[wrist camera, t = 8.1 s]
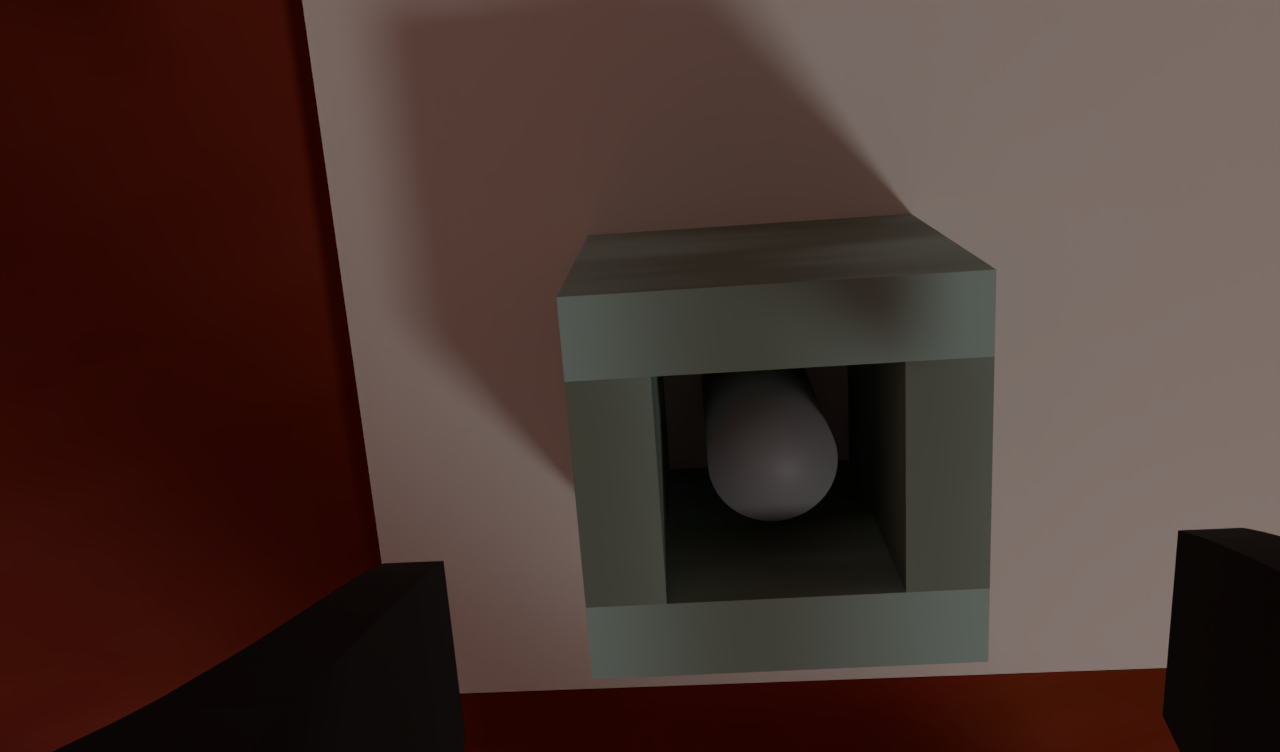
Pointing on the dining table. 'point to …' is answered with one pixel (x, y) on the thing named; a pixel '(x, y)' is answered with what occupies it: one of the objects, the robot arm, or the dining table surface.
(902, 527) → the collar
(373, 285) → the pin plate
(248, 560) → the dining table surface
